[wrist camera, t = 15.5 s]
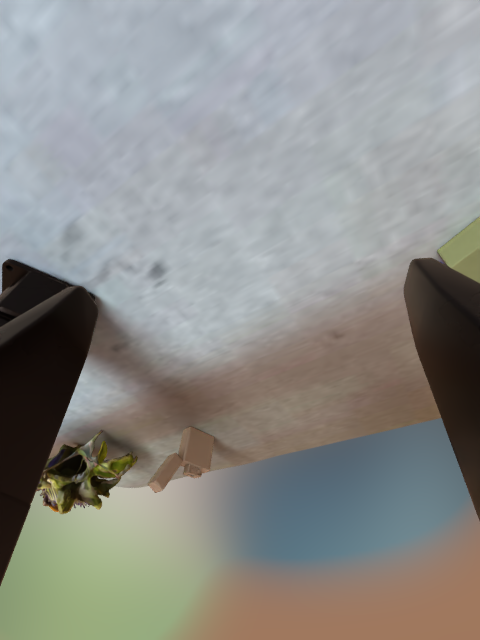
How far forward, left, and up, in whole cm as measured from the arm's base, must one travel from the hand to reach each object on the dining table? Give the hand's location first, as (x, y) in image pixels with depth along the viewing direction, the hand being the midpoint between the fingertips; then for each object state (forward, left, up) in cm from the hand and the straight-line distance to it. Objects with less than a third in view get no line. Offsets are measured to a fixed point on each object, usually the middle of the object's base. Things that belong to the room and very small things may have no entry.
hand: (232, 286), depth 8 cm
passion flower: (-44, -1, -11) cm, 45 cm away
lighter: (-32, -11, -11) cm, 36 cm away
